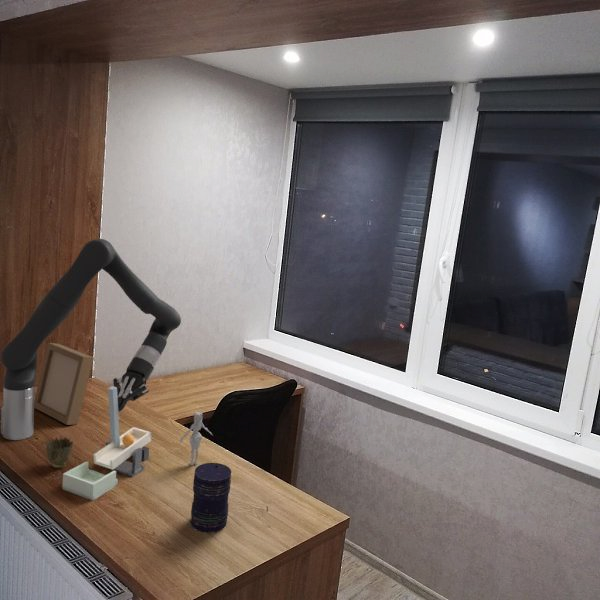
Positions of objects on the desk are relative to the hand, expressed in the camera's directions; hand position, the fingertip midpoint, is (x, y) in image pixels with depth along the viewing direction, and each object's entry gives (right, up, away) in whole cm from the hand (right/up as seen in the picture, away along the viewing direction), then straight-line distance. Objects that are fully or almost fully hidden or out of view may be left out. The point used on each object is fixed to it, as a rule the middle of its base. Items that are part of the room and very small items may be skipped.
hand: (116, 410), depth 174 cm
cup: (-17, -17, -1) cm, 25 cm away
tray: (-4, -20, -10) cm, 23 cm away
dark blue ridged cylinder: (+32, -26, -21) cm, 46 cm away
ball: (+3, -10, +3) cm, 11 cm away
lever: (+2, -13, +1) cm, 13 cm away
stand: (+2, -18, +5) cm, 19 cm away
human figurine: (+22, -20, +9) cm, 31 cm away
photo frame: (-31, -9, +39) cm, 50 cm away
